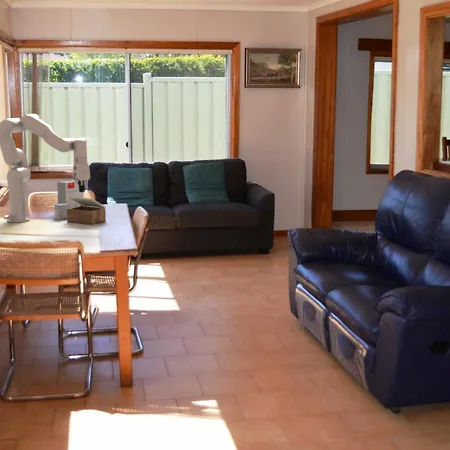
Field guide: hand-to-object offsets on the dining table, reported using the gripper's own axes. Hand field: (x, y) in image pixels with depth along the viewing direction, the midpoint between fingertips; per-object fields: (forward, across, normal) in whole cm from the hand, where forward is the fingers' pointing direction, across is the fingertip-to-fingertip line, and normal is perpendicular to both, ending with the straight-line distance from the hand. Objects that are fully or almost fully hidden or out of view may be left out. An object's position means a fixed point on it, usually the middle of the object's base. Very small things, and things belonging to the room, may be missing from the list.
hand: (82, 191), depth 416 cm
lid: (+7, +4, +1) cm, 8 cm away
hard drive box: (+18, +25, +32) cm, 44 cm away
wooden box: (+18, +4, +1) cm, 19 cm away
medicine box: (+18, +5, +21) cm, 28 cm away
